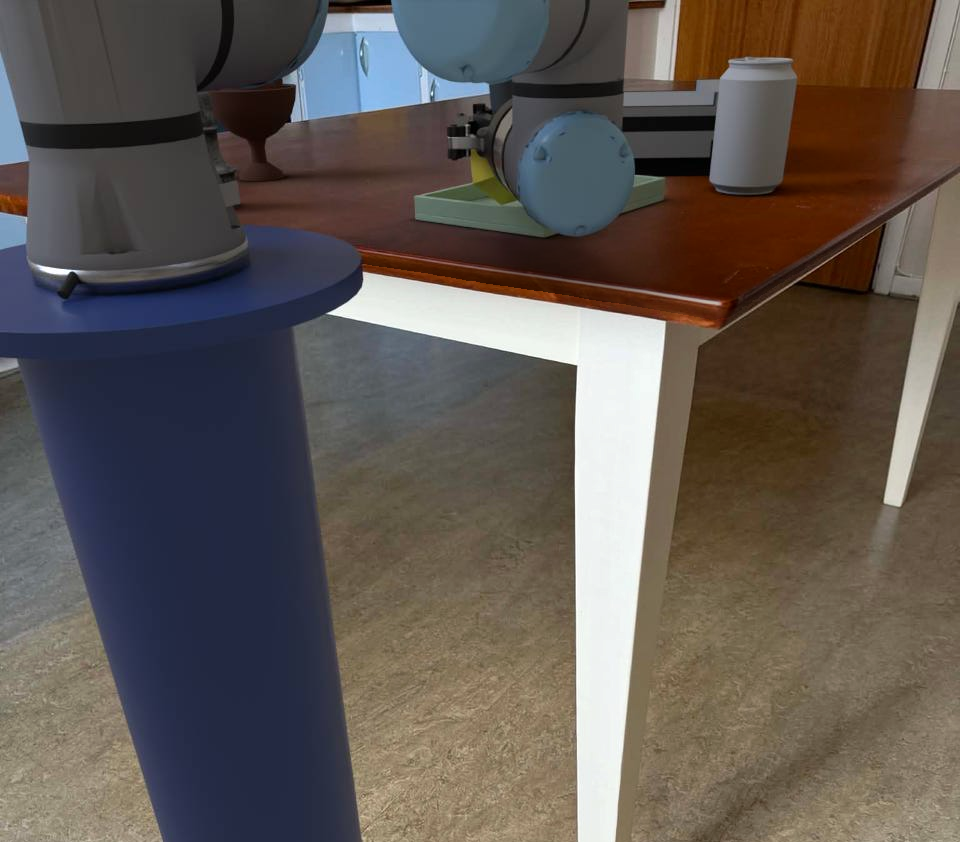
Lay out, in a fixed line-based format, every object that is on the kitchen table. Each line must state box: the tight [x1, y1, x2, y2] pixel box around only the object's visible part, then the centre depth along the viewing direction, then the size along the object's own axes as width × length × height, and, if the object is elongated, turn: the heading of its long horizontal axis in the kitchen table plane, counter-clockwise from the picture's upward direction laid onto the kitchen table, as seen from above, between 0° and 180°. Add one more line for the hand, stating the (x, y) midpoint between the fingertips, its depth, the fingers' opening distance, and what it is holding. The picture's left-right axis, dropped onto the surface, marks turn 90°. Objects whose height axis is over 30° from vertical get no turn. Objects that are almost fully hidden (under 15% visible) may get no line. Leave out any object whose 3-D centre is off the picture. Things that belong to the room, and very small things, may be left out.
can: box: [708, 56, 798, 196], centre depth 96 cm, size 8×8×12 cm
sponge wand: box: [469, 79, 517, 205], centre depth 87 cm, size 6×5×14 cm
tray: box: [413, 175, 666, 239], centre depth 93 cm, size 21×15×2 cm
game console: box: [489, 78, 720, 176], centre depth 115 cm, size 21×32×8 cm, turn 85°
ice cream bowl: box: [209, 78, 297, 182], centre depth 110 cm, size 11×11×15 cm
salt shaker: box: [197, 91, 241, 210], centre depth 95 cm, size 6×6×12 cm
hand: (494, 118), depth 93 cm, fingers closed on sponge wand, 2 cm apart
